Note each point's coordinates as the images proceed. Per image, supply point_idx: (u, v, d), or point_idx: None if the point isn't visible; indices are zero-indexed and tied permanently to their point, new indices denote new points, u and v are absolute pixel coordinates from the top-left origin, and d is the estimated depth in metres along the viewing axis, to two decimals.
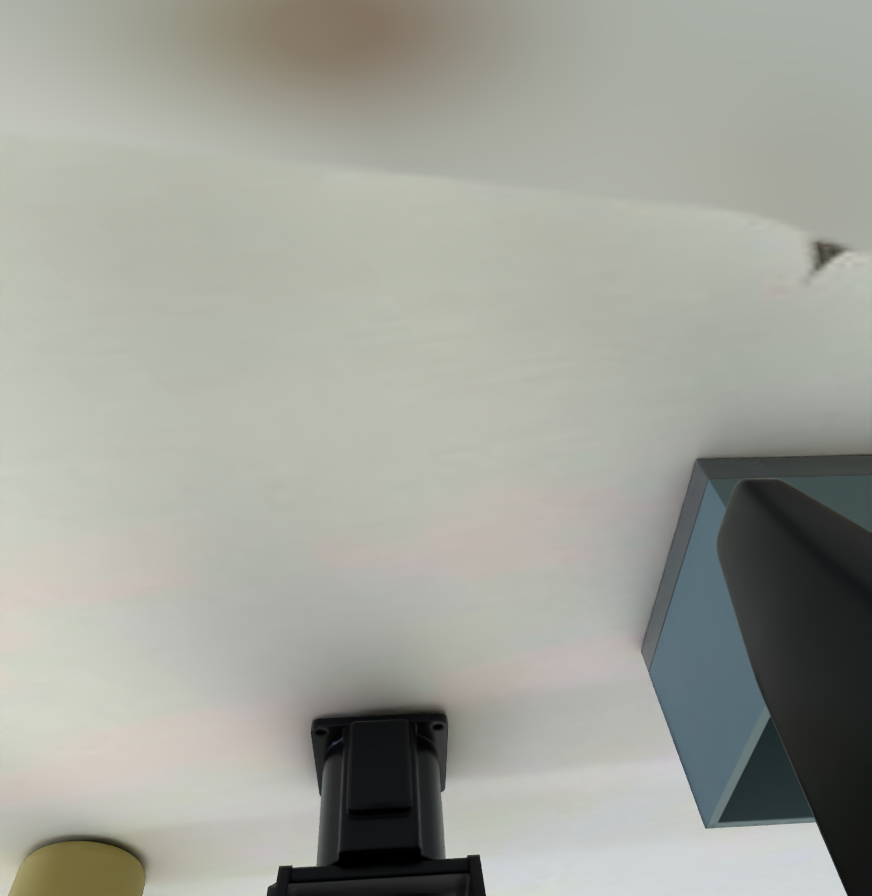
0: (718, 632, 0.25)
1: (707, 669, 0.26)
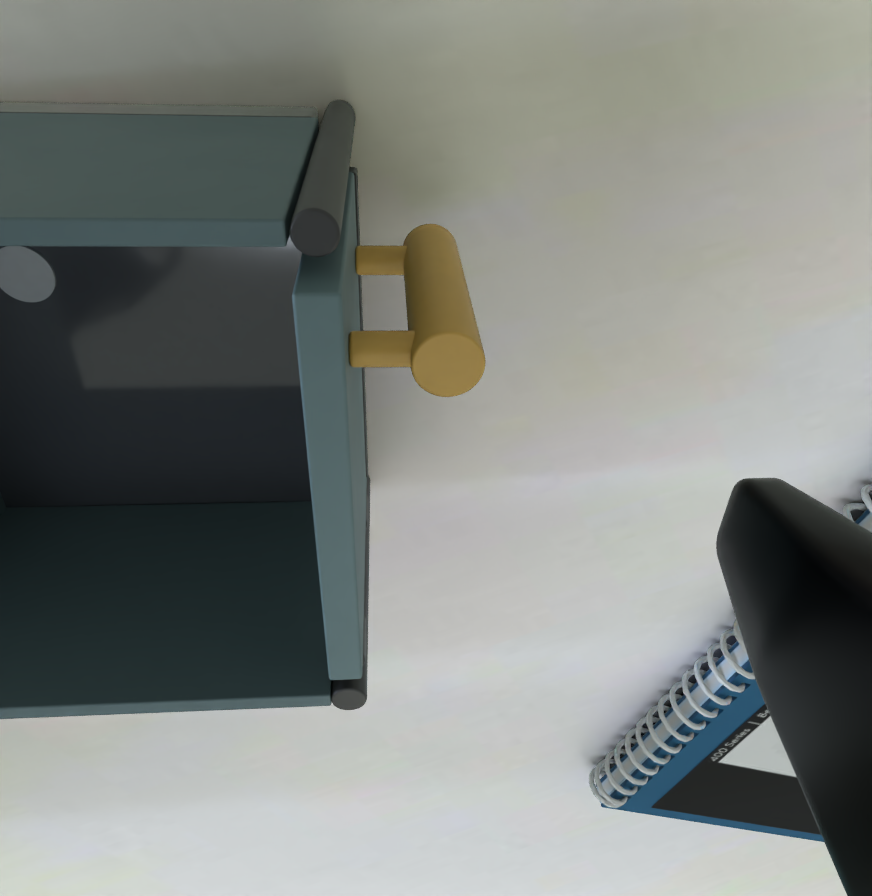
0: None
1: None
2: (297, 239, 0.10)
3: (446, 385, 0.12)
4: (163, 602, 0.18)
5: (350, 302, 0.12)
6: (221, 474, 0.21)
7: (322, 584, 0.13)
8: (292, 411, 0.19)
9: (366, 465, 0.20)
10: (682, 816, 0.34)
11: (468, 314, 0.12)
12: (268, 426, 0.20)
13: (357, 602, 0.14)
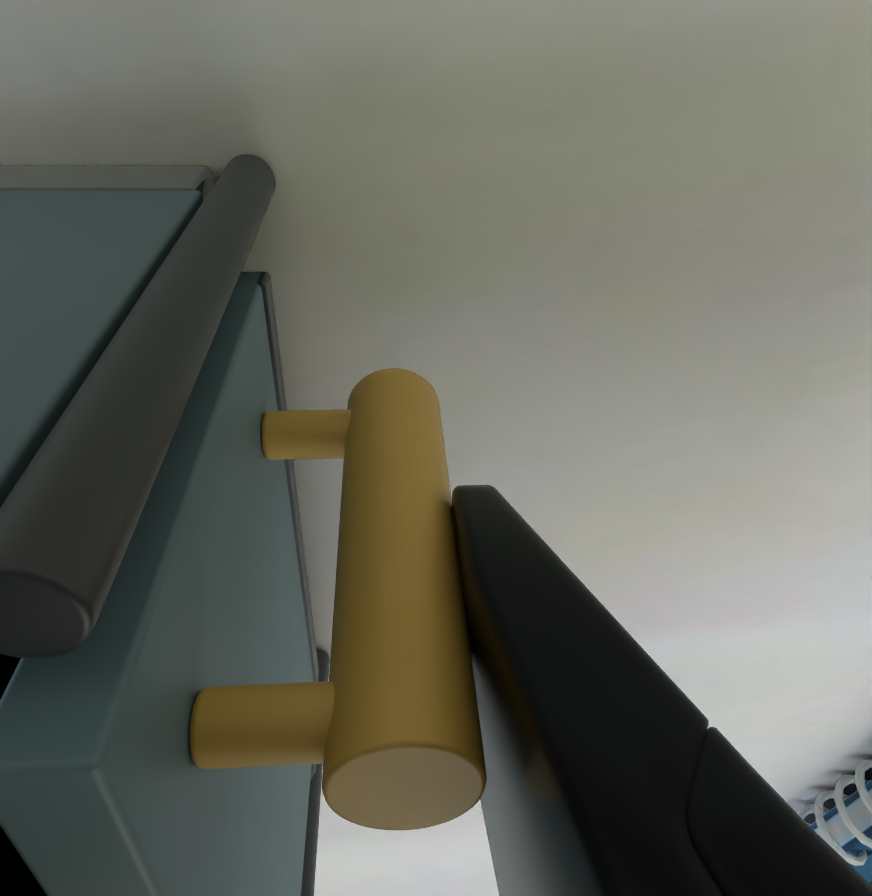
0: None
1: None
2: None
3: (402, 818, 0.05)
4: None
5: (216, 590, 0.06)
6: None
7: None
8: None
9: (314, 676, 0.13)
10: None
11: (450, 641, 0.06)
12: None
13: None
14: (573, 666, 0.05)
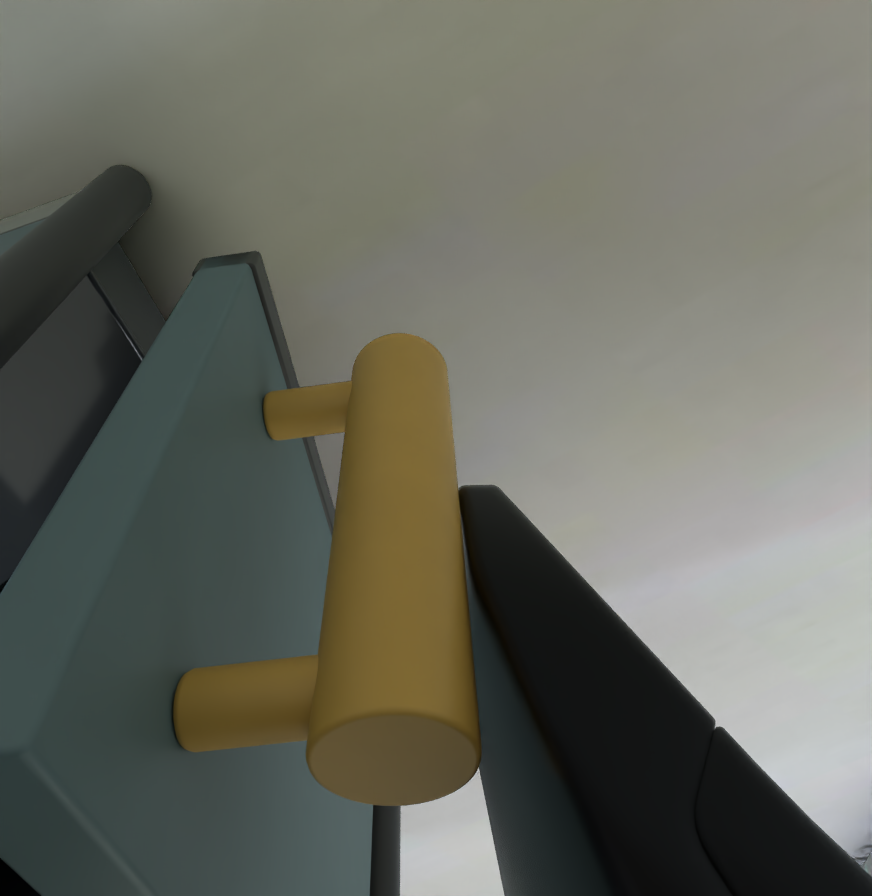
0: None
1: None
2: None
3: (399, 792, 0.05)
4: None
5: (205, 571, 0.06)
6: None
7: None
8: None
9: None
10: None
11: (438, 603, 0.05)
12: None
13: None
14: (579, 666, 0.05)
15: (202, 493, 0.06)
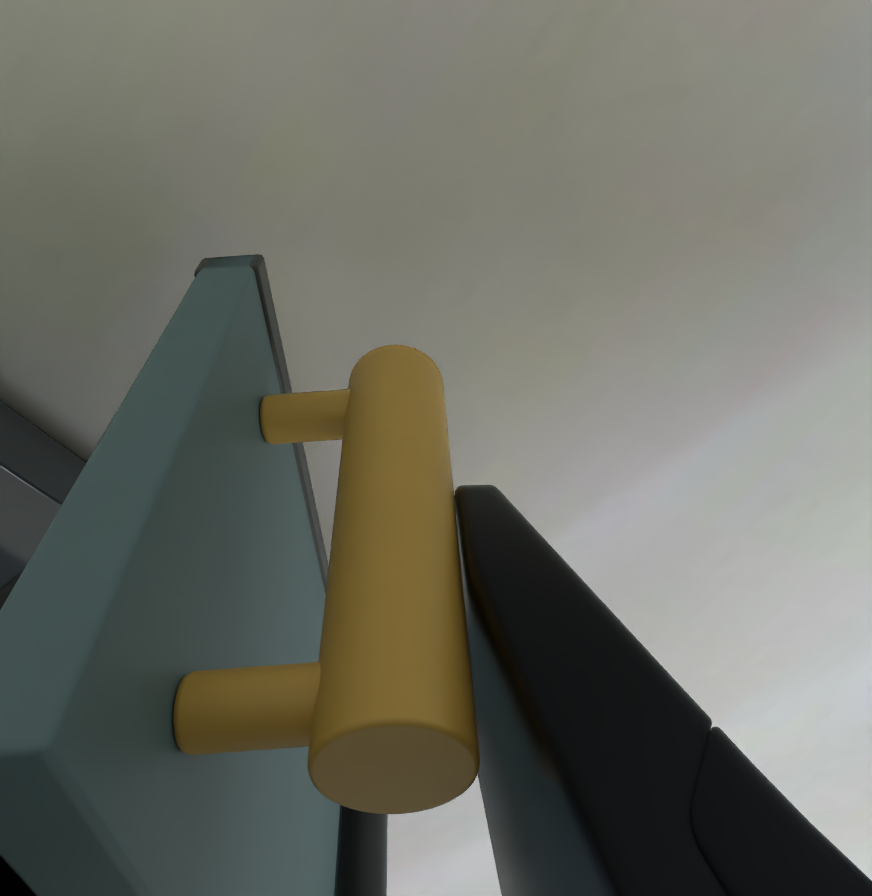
0: None
1: None
2: None
3: (395, 801, 0.05)
4: None
5: (205, 574, 0.06)
6: None
7: None
8: None
9: None
10: None
11: (441, 616, 0.05)
12: None
13: None
14: (576, 666, 0.05)
15: (205, 495, 0.06)
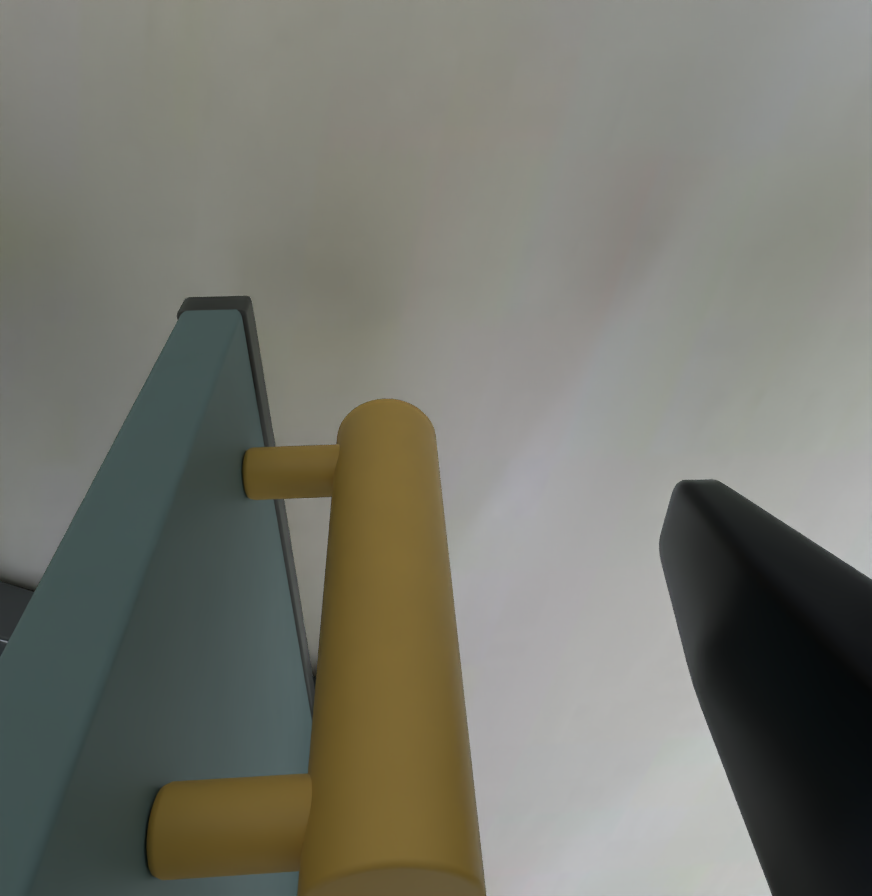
0: None
1: None
2: None
3: None
4: None
5: (183, 664, 0.06)
6: None
7: None
8: None
9: (312, 712, 0.13)
10: None
11: (444, 727, 0.05)
12: None
13: None
14: None
15: (186, 576, 0.06)
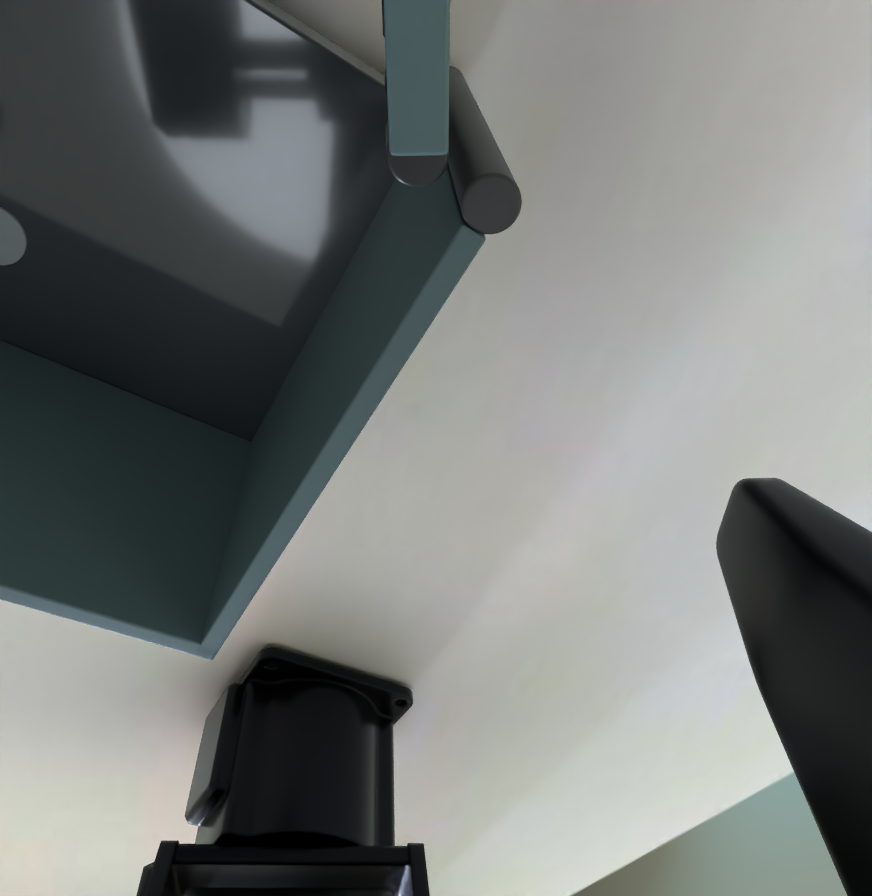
0: None
1: None
2: None
3: None
4: (329, 362, 0.14)
5: None
6: (315, 226, 0.16)
7: None
8: (265, 79, 0.14)
9: None
10: None
11: None
12: (275, 125, 0.15)
13: None
14: None
15: None
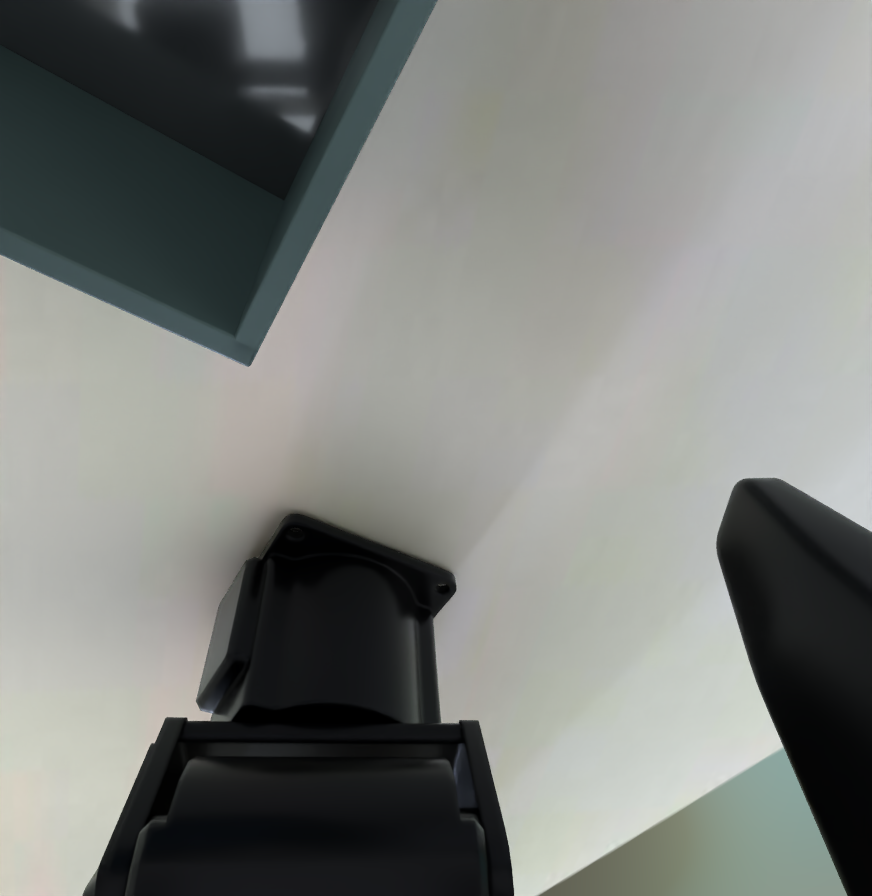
0: None
1: None
2: None
3: None
4: None
5: None
6: None
7: None
8: None
9: None
10: None
11: None
12: None
13: None
14: None
15: None
